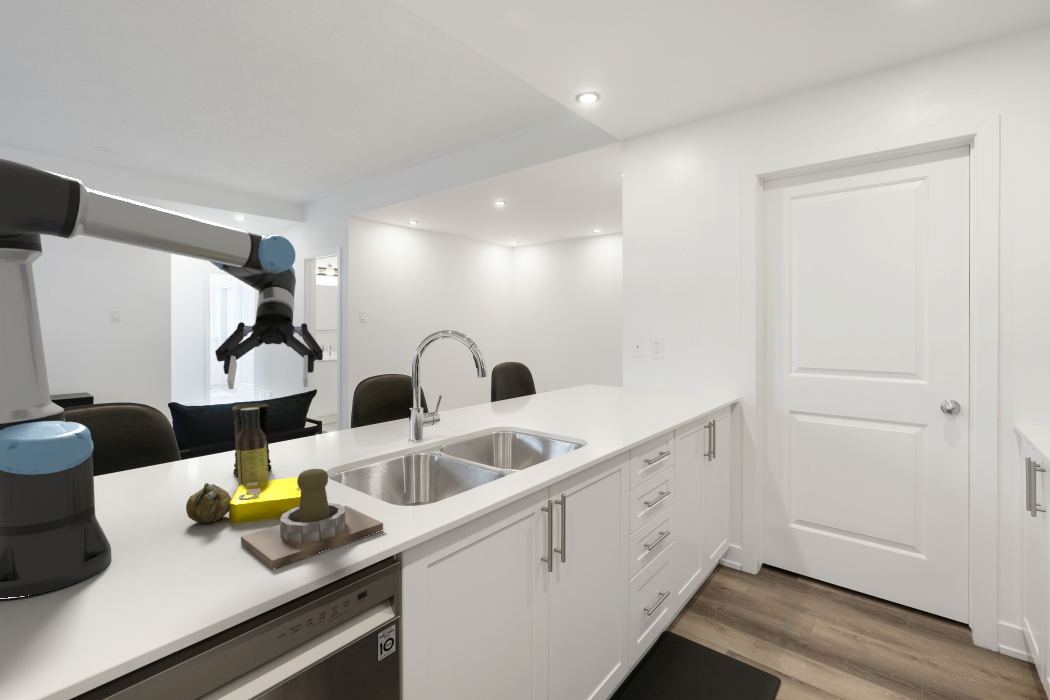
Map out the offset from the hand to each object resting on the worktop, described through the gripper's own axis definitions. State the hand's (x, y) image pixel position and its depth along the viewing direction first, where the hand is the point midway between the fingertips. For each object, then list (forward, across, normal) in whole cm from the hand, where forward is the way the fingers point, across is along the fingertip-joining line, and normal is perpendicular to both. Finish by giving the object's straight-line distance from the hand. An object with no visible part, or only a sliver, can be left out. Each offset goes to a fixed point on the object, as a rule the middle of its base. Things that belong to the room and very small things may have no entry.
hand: (268, 384), depth 100 cm
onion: (+18, +11, -21) cm, 30 cm away
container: (-6, +8, -45) cm, 46 cm away
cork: (+28, -9, -8) cm, 31 cm away
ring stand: (+29, -9, -9) cm, 32 cm away
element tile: (+16, 0, -24) cm, 28 cm away
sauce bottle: (+7, +5, -32) cm, 33 cm away
